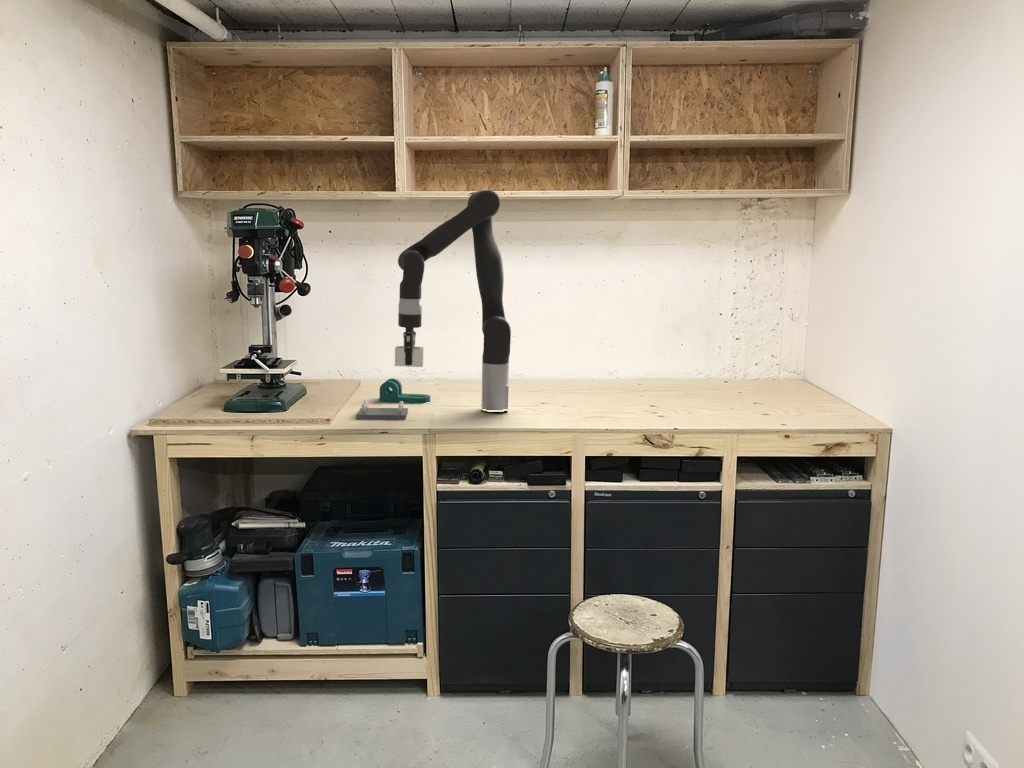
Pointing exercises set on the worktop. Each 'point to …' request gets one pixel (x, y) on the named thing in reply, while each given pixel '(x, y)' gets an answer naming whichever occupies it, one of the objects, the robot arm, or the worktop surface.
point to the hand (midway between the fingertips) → (409, 363)
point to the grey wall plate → (382, 412)
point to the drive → (416, 356)
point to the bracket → (399, 393)
